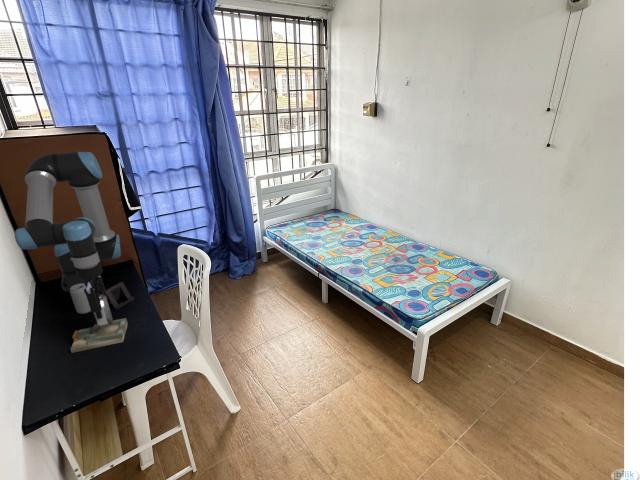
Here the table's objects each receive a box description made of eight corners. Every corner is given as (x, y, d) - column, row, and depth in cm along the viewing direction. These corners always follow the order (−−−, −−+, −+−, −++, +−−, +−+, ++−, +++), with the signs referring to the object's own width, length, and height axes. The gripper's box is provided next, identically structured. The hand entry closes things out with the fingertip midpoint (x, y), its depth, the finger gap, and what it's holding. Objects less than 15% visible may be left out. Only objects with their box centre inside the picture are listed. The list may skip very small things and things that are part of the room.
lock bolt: (77, 335, 125) (75, 330, 124) (92, 332, 127) (90, 327, 126) (74, 341, 122) (72, 336, 121) (89, 338, 124) (88, 333, 123)
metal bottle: (99, 321, 127) (91, 293, 122) (114, 318, 128) (106, 291, 124) (96, 328, 123) (87, 300, 118) (112, 325, 124) (103, 298, 119)
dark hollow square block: (117, 310, 143) (112, 294, 140) (105, 306, 146) (100, 290, 143) (135, 300, 151) (130, 284, 148) (122, 296, 154) (118, 280, 150)
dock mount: (80, 332, 129) (78, 325, 128) (127, 323, 135) (125, 316, 133) (71, 352, 119) (68, 345, 118) (123, 341, 124) (120, 334, 123)
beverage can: (86, 315, 140) (77, 291, 135) (73, 313, 141) (64, 289, 137) (98, 307, 146) (90, 283, 141) (85, 305, 147) (78, 282, 142)
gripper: (82, 256, 123) (98, 309, 131) (67, 278, 107) (86, 336, 116) (105, 253, 125) (119, 305, 134) (93, 274, 109) (111, 331, 118)
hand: (104, 319), depth 125 cm, fingers closed on metal bottle, 5 cm apart
